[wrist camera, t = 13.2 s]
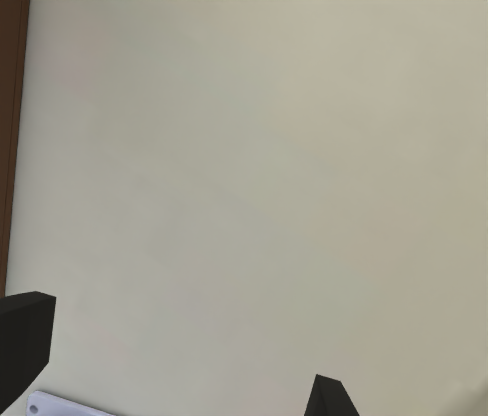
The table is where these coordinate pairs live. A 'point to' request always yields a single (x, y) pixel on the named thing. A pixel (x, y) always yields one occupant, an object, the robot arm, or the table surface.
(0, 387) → the robot arm
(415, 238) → the table surface
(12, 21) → the tray
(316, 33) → the table surface
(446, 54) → the table surface
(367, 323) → the table surface
